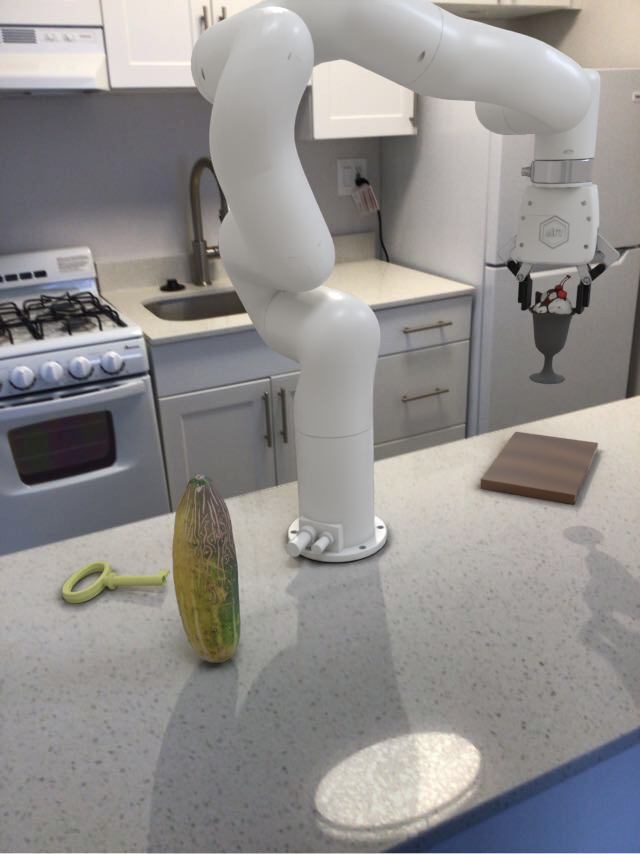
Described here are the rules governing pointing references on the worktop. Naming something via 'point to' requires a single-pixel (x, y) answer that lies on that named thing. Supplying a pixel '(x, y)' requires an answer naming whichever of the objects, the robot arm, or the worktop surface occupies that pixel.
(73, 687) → the worktop surface
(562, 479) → the serving board
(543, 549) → the worktop surface
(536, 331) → the sundae
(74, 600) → the key
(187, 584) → the vegetable
